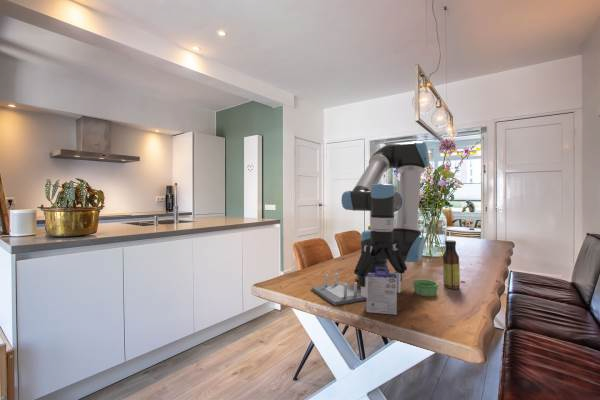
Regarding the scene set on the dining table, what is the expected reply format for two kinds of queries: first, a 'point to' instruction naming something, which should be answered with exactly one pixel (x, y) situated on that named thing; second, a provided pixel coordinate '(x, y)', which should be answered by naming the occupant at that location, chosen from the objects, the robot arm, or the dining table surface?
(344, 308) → the dining table surface
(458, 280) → the sauce bottle
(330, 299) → the pin tray
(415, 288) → the ramekin
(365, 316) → the dining table surface
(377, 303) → the ink cartridge box
